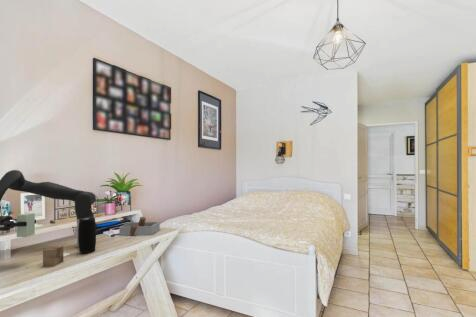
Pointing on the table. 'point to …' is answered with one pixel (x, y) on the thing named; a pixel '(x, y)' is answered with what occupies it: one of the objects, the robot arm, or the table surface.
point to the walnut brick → (53, 256)
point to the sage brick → (30, 227)
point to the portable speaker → (87, 234)
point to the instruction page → (64, 254)
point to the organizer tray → (139, 228)
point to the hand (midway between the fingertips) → (30, 222)
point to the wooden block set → (141, 223)
